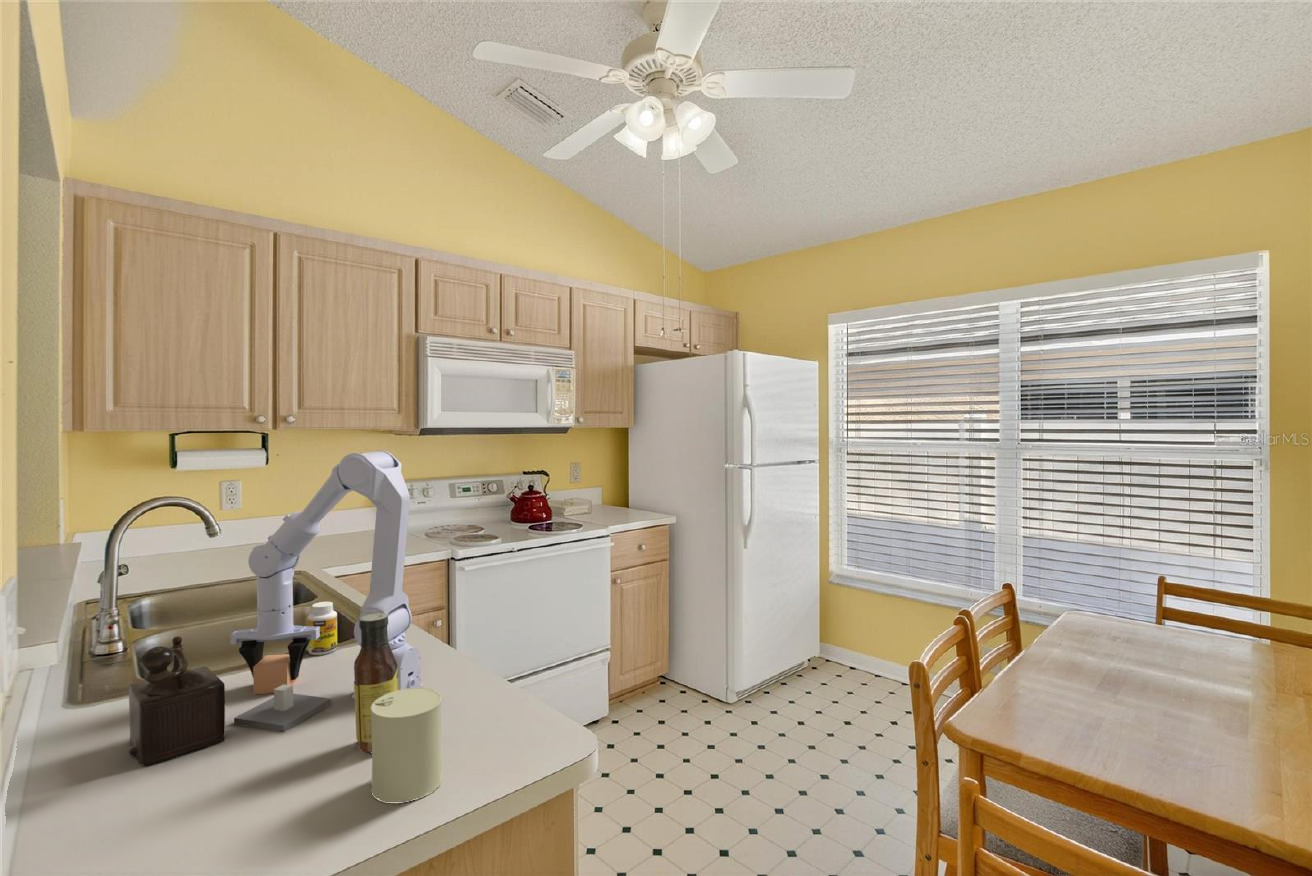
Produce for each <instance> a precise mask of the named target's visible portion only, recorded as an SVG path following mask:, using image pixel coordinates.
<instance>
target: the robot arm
mask: <svg viewBox="0 0 1312 876" xmlns="http://www.w3.org/2000/svg"><path fill="white" fill-rule="evenodd" d="M402 466H403V465H402V463H401V461H399V459H397V458H396V457H395V456H394V455H393V454H392V453H390V452H389V451H387V450H383V449H381V450H375V451H370V452H352V453H349V454H347V455H345V456H344V457H342V458H341V460H340V462H339V463H337V464H336V465H335V466H334V467H332V469H331V474H330V476H329V477H328V478H327V479H326V480H325V482H324V483H323V484H322V486H321V487H320V489H318V491H317V492H316V494H315V495H314V496H313V497H312V499H311V500H310V501H309V503H308V504H307V505H306V507H305V508H304V509H303V510H302V511H294V512H292V513H289V514H286V515H285V516H284V517H283V518H282V521H283V523H282V524H281V525H280V526H279V527H278V529H277V530H276V531H275V532H274V533H271V534H270V535H269V536H268V537H267V540H266V541H267V542H266V543H265V544H263V543H262V544H260V545H256V546H254V547H253V548H252V550H251V552H250V554H249V556H248V559H247V561H248V566H249V570H250V571H251V572H252V573H253V574H254V575H255V576H256V610H257V611H256V612H257V614H256V615H257V619H256V620H257V627H256V628H252V629H251V628H250V629H241V630H235V631H233V632H232V633H230V636H229V637H230V645H231V646H232V645H238V644H241V645H240V647H239V649H238V652H239V654H240V655H241V657H242V658H243V659H244V661H245V662H246V664H247V666H248V668H249V670H250V673H251V676H252V677H253V667H254V666H255V665H256V664H257V663H258V662H259V661H261V660H262V659H263V658H264V647H265V643H266V642H279V641H281V642H282V641H291V642H290V643H289V644H288V645H287V651H288V654H289V656H290V676H291V680H295V679H296V678H297V677H298V676H299V677H300V668H301V665H302V662H303V658H304V656H305V653H306V650H308V644H309V642H310V640H316V639H318V638H319V636H320V627H319V626H318V627H310V626H308V625H295V624H294V593H293V590H294V588H293V583H294V582H293V579H294V578H293V577H294V576H295V568H296V567H297V565H298V564H299V562H300V559H301V554H302V552H303V551H304V550H305V549H306V547H307V546H308V545H309V544H310V543H311V542H312V541H313V539H314V538H315V537H316V536H317V535H318V534H319V533H320V531H321V525H320V524H321V523H320V522H321V520H322V519H324V518H325V516H327V514H329V512H331V511H332V509H334V507H335V506H336V505H337V504H338V503H340V502H341V500H342V499H343V498H345V497H346V495H348V493H350V492H352V491H353V492H356V493H358V494H360V495H361V496H364V497H365V498H367V499H368V500H369V501H370V502H371V503H372V504H373V505H374V506H375V507H376V511H375V512H376V513H375V523H374V524H375V525H374V534H373V537H374V538H373V548H372V558H371V559H372V561H371V569H370V570H371V573H370V574H371V575H370V584H369V586H370V587H369V593H368V595H367V597H366V599H365V600H364V601H363V604H362V606H361V607H360V614H359V618H358V620H357V621H356V623H355V624H354V629H353V635H354V639H355V642H356V643H357V644H358V645H359V646H360V647H361V642H362V641H361V629H360V627H359V619H360V618H361V617H363V616H365V615H369V614H376V613H384V614H387V616H388V625H387V633H388V635H387V636H388V643H389V645H390V648H391V650H392V653H393V655H394V657H395V660H396V662H397V665H398V684H399V690H402V689H409V688H424V687H423V686H424V683H422V681H421V680H422V679H421V676H422V675H421V654H420V653H421V652H420V651H419V649H418V648H417V647H415V646H413V645H410V644H409V643H407V641H406V637H407V636H406V631H407V630H408V629H409V628H410V626H411V624H412V622H413V621H412V619H413V615H412V612H411V609H410V606H409V605H410V604H409V599H410V598H409V596H408V595H407V593H404V591H403V585H404V584H403V583H404V572H405V571H404V570H405V560H406V547H407V539H408V538H407V536H408V524H409V514H410V504H411V503H410V500H411V497H410V492H409V490H408V487H407V484H406V481H405V479H404V476H403V474H402ZM351 698H352V699H353V700H355V694H354V693H353V694H352V695H351Z"/></svg>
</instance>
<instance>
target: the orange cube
mask: <svg viewBox="0 0 1312 876" xmlns="http://www.w3.org/2000/svg"><path fill="white" fill-rule="evenodd" d="M299 677H300V675H299V676H298V677H297V678H296V679H295V680H291V676H290V656H289V653H287V654H285V653H284V654H273V655H272V654H271V655H270V654H269V655H268V654H267V655H265V656H263V659H262V660H261V661H259V662H258V663H257V664H256V665H255V666H254V667H253V676H252V678H253V679H252V680H253V695H261V694H263V695H265V694H274V689H276V688H278V687H280V686H282V685H291V686H293V687H294V685H295V684H296V683H297V682H298V681H299V679H300V678H299Z"/></svg>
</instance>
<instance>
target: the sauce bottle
mask: <svg viewBox="0 0 1312 876" xmlns="http://www.w3.org/2000/svg"><path fill="white" fill-rule="evenodd" d="M358 620H359V627H360V629H361V641H362V642H361V646H360V651H359V653H358V655H357V656H356V658H355V660H354V663H353V664H354V665H353V671H354V672H353V673H354V681H353V689H354V693H353V694H355V699H354V708H355V709H354V711H355V713H354V714H355V734H356V735H355V736H356V741H357V742H356V744H357V747H358V749H359V751H361V750H362V751H361V752H363V753H367V752H369V753H370V752H372V727H371V711H370V708H371V705H372V703H373V702H374V701H375V700H377V699H378V698H380V697H381V696H383V695H386V694H388V693H391V692H394V691H398V690H399V684H398V665H397V662H396V660H395V657H394V655H393V653H392V650H391V648H390V645H389V643H388V636H387V635H388V633H387V625H388V616H387V614H384V613H376V614H369V615H365V616H363V617H361V618H360V619H359V618H358Z"/></svg>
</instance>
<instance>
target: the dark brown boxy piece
mask: <svg viewBox="0 0 1312 876" xmlns="http://www.w3.org/2000/svg"><path fill="white" fill-rule="evenodd" d="M171 642H172V646H171V647H169V646H161V645H160V646H153V647H152V648H149V649H147V650H145V651H144V652H143V653H142V655H141V658H140V659H139V665H140V667H142V668H143V669H144V670H145V672H146V675H145V677H144V680H141V681H137V682H133V683H130V684H129V685H128V686H129V687H128V706H129V709H128V710H129V742H128V744H129V747H128V752H129V755H131V756H132V757H133V758H134V759H136V760H137V762H138V763H139V764H141V765H142V766H144V767H147V766H152V765H155V764H160V763H164V762H168V761H172V760H173V759H177V758H180V757H183V756H187V755H189V754H192V753H193V754H194V753H195V752H198V751H202V750H206V749H208V748H211V747H213V746H216V745H218V744H220V743H223V742H225V740H226V738H225V727H226V726H225V725H226V723H225V722H226V707H225V706H226V700H225V699H226V696H225V695H226V690H225V689H226V688H225V683H224V681H222V680H221V679H220V678H219V677H218V676H217V675H216V674H215V673H214V672H213V671H212V670H211V669H210V668H209V667H208V666H206V665H205V666H200V667H196V668H195V667H194V668H192V669H191V668H188V667H189V663H188V660H187V657H186V655H185V652H184V651H183V650H184V648H183V644H182V642H183V638H182V637H181V636H174V637H173V638H172V639H171ZM171 663H172V669H168V667H169V666H170V665H171Z"/></svg>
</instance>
